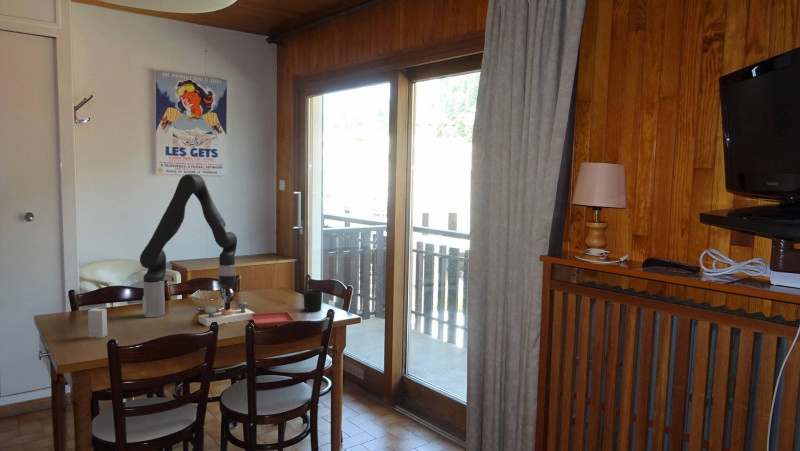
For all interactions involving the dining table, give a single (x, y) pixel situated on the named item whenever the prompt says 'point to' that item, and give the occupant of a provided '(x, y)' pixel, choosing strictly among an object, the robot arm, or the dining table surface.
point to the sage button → (210, 310)
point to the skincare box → (97, 323)
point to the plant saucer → (271, 319)
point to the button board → (226, 317)
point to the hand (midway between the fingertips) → (227, 309)
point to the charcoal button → (242, 306)
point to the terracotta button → (227, 311)
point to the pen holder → (312, 300)
